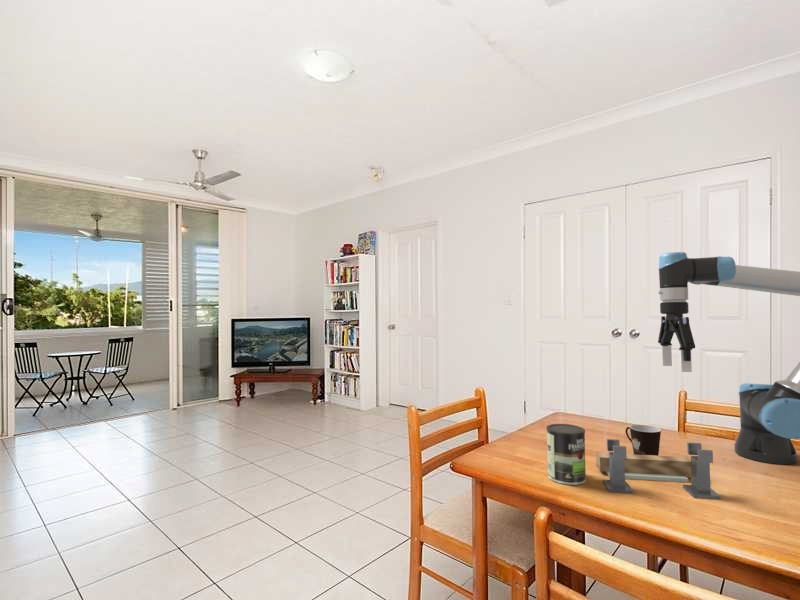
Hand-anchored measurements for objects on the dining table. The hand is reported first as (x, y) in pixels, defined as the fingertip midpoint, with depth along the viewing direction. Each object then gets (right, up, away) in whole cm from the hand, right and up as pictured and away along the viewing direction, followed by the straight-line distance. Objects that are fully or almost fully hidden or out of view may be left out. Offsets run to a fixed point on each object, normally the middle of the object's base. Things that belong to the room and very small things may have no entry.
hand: (676, 368), depth 133 cm
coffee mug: (-9, -29, +1) cm, 31 cm away
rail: (-17, -28, -11) cm, 35 cm away
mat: (-17, -29, -11) cm, 35 cm away
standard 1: (-29, -29, -20) cm, 46 cm away
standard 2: (-9, -28, -24) cm, 38 cm away
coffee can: (-40, -29, -13) cm, 51 cm away
